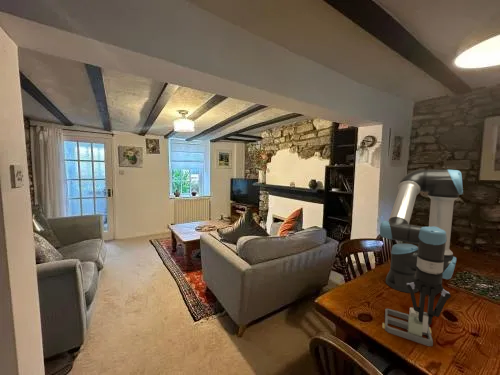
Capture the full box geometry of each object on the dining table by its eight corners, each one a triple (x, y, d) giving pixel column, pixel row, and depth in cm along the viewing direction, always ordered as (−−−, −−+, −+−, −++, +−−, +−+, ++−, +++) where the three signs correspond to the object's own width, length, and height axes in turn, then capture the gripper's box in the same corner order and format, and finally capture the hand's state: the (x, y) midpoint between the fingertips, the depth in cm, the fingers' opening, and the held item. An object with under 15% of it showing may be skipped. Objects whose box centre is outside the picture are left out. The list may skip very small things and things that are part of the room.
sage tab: (407, 330, 88) (408, 313, 87) (420, 334, 86) (421, 317, 85) (408, 336, 84) (409, 319, 84) (421, 340, 82) (423, 323, 82)
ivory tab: (408, 320, 93) (410, 305, 93) (420, 324, 91) (422, 308, 90) (409, 326, 90) (410, 310, 89) (422, 330, 88) (423, 314, 87)
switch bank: (381, 313, 100) (382, 306, 99) (430, 327, 91) (430, 320, 91) (381, 333, 88) (381, 325, 87) (436, 352, 79) (437, 344, 78)
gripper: (408, 269, 81) (403, 329, 83) (455, 279, 75) (449, 344, 77) (406, 262, 88) (402, 318, 90) (450, 270, 81) (444, 330, 83)
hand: (423, 330), depth 83 cm, fingers closed
